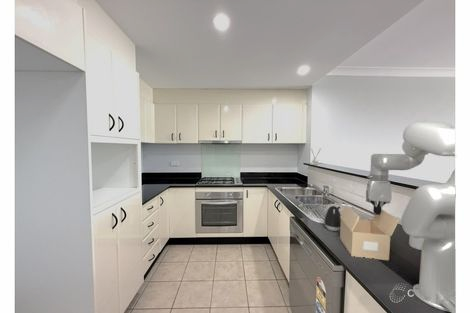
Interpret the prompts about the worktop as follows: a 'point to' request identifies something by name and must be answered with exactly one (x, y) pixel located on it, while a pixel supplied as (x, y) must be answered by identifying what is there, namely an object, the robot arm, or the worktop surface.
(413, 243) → the milk bottle
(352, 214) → the left flap
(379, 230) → the carton
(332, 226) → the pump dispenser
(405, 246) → the worktop surface
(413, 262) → the worktop surface
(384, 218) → the right flap
